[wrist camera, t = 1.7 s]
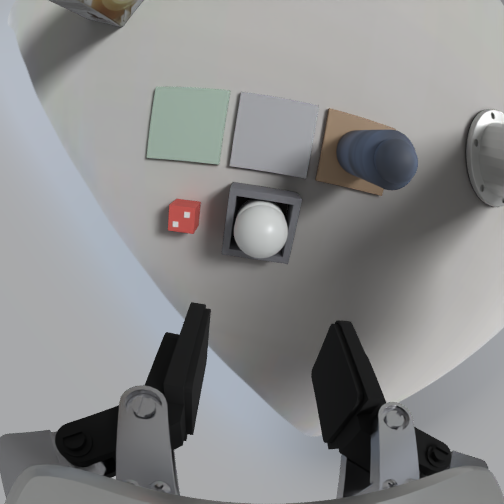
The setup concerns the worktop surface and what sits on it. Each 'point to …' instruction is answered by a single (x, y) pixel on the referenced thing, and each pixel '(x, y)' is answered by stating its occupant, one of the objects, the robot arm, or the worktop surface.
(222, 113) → the game board
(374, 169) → the pawn
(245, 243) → the popper dome
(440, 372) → the worktop surface
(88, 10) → the coffee box
